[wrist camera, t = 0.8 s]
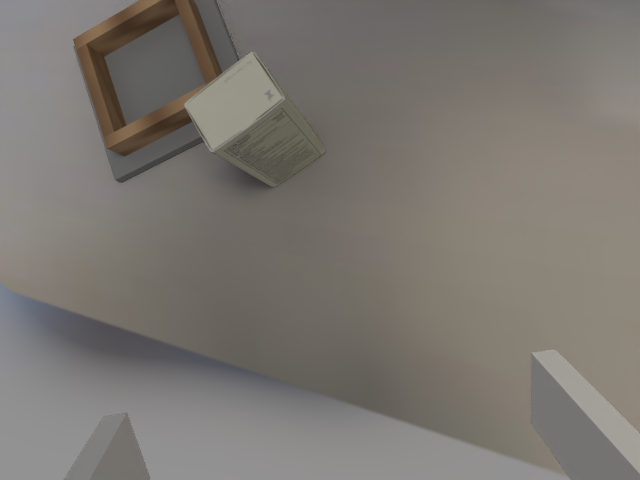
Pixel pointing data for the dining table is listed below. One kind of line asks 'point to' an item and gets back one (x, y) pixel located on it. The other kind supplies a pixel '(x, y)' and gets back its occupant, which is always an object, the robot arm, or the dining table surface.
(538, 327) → the dining table surface
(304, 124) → the skincare box
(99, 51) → the walnut collar
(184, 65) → the slate tray
